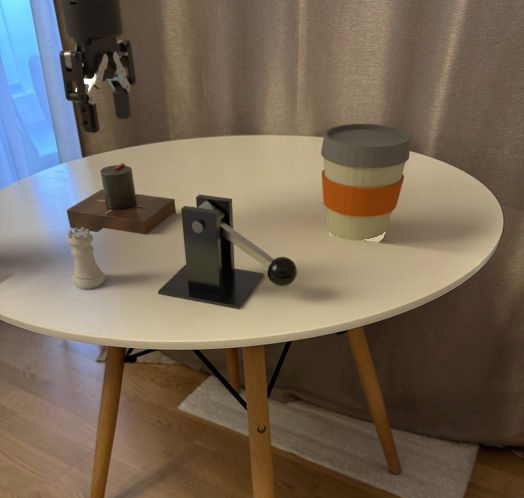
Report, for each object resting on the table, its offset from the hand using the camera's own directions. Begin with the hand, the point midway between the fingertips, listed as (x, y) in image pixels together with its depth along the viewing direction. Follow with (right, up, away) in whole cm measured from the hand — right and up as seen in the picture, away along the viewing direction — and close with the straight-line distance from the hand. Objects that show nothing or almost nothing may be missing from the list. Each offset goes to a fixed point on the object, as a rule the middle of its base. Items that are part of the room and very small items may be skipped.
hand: (108, 124), depth 81 cm
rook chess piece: (0, -25, -9) cm, 27 cm away
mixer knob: (0, -10, +7) cm, 12 cm away
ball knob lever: (+20, -22, -14) cm, 33 cm away
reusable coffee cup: (+38, -15, +5) cm, 41 cm away
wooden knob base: (0, -12, +9) cm, 15 cm away
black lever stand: (+16, -26, -10) cm, 32 cm away
